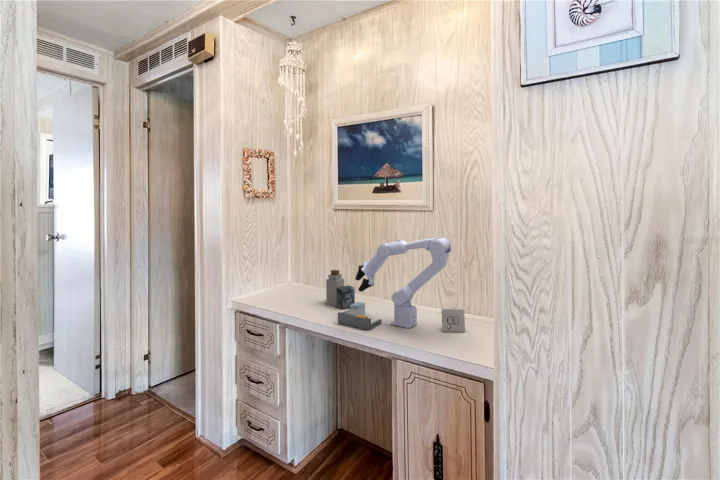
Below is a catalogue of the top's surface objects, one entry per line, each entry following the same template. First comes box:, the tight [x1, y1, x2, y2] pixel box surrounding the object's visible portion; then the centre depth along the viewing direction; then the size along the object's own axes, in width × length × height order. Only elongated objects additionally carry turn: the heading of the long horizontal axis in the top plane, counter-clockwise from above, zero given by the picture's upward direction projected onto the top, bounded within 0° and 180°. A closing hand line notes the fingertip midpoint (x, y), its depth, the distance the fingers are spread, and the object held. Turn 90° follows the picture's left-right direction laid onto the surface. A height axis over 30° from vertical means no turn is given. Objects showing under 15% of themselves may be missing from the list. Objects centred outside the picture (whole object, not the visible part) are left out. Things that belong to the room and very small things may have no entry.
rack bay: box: [337, 308, 383, 331], centre depth 164 cm, size 17×10×6 cm, turn 57°
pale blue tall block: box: [349, 301, 366, 316], centre depth 175 cm, size 4×7×6 cm, turn 147°
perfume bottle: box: [325, 269, 345, 307], centre depth 195 cm, size 7×7×18 cm
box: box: [336, 284, 356, 310], centre depth 189 cm, size 8×6×11 cm
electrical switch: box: [441, 308, 466, 333], centre depth 156 cm, size 9×5×9 cm, turn 87°
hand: (358, 285), depth 174 cm, fingers open, 7 cm apart
